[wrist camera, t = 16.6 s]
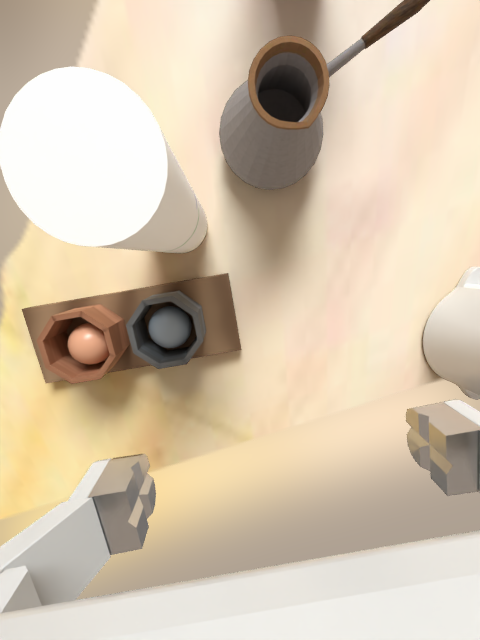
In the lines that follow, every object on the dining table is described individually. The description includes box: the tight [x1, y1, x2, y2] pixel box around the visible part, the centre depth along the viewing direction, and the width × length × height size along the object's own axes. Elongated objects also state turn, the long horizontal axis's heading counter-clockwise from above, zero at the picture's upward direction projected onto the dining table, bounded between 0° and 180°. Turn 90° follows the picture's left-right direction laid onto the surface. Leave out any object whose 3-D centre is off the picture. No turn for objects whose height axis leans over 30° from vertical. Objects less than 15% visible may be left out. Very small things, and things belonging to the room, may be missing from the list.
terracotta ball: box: [68, 323, 110, 364], centre depth 36 cm, size 5×5×5 cm
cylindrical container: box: [0, 67, 207, 253], centre depth 25 cm, size 7×7×25 cm
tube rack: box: [22, 273, 241, 384], centre depth 37 cm, size 26×10×6 cm, turn 100°
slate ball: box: [149, 306, 191, 348], centre depth 36 cm, size 5×5×5 cm
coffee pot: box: [219, 0, 430, 190], centre depth 28 cm, size 21×12×15 cm, turn 120°
